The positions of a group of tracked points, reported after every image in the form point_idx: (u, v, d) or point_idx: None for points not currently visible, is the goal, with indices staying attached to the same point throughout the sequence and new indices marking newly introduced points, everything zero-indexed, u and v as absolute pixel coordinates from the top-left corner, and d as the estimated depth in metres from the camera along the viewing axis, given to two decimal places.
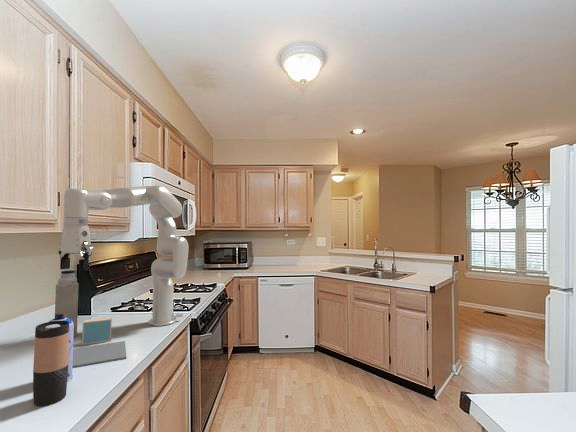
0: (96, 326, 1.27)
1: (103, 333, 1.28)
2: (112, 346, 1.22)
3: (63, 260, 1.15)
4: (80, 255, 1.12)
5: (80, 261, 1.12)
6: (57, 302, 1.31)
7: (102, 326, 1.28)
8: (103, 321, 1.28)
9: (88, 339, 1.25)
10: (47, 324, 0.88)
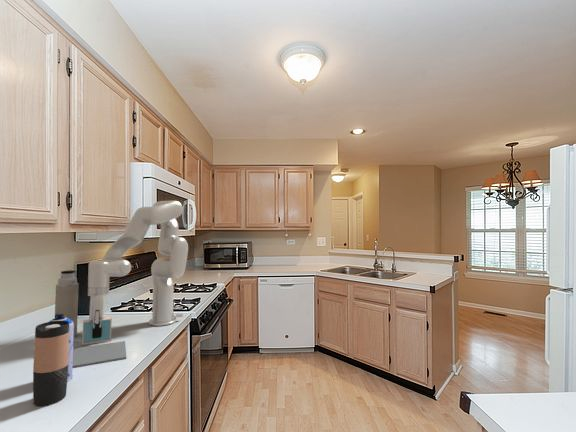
0: None
1: (103, 333, 1.28)
2: (112, 346, 1.22)
3: None
4: None
5: None
6: (57, 302, 1.31)
7: (102, 326, 1.28)
8: (103, 321, 1.28)
9: (88, 339, 1.25)
10: (47, 324, 0.88)
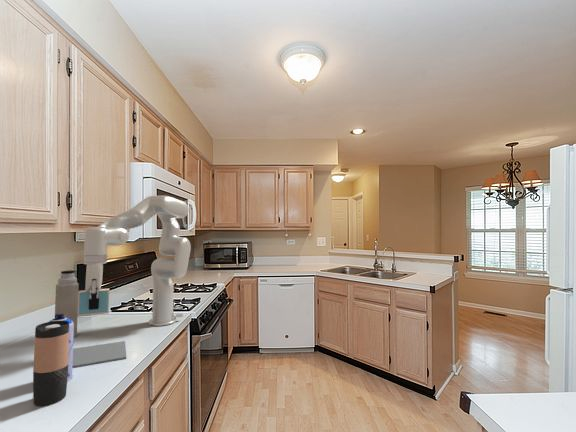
0: None
1: (101, 305, 1.19)
2: (112, 346, 1.22)
3: None
4: None
5: None
6: (57, 302, 1.31)
7: (99, 297, 1.19)
8: (100, 291, 1.19)
9: (84, 310, 1.17)
10: (47, 324, 0.88)
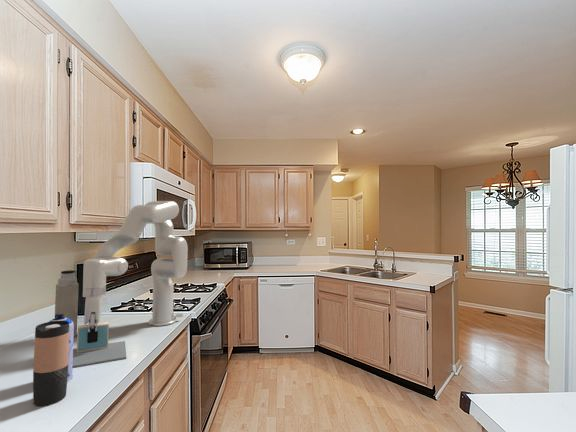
0: None
1: (100, 339, 1.19)
2: (112, 346, 1.22)
3: None
4: None
5: None
6: (57, 302, 1.31)
7: (98, 332, 1.19)
8: (100, 326, 1.19)
9: (84, 346, 1.16)
10: (47, 324, 0.88)
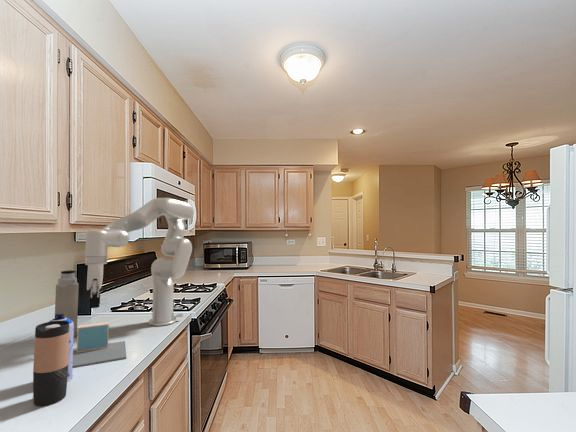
0: (92, 332, 1.18)
1: (100, 339, 1.19)
2: (112, 346, 1.22)
3: None
4: (99, 290, 1.29)
5: None
6: (57, 302, 1.31)
7: (98, 332, 1.19)
8: (100, 326, 1.19)
9: (84, 346, 1.16)
10: (47, 324, 0.88)
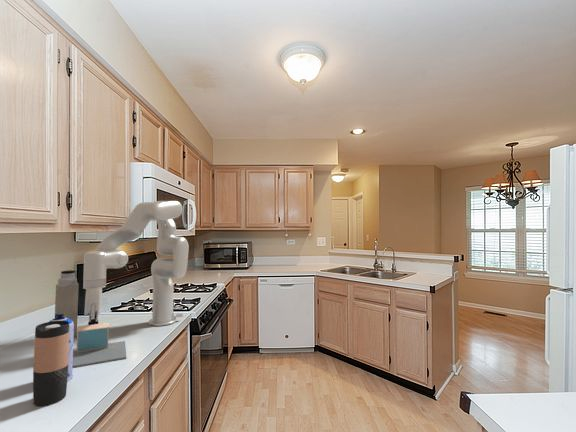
0: (92, 334, 1.16)
1: (100, 341, 1.18)
2: (112, 346, 1.22)
3: None
4: None
5: None
6: (57, 302, 1.31)
7: (98, 334, 1.17)
8: (99, 329, 1.17)
9: (84, 347, 1.16)
10: (47, 324, 0.88)
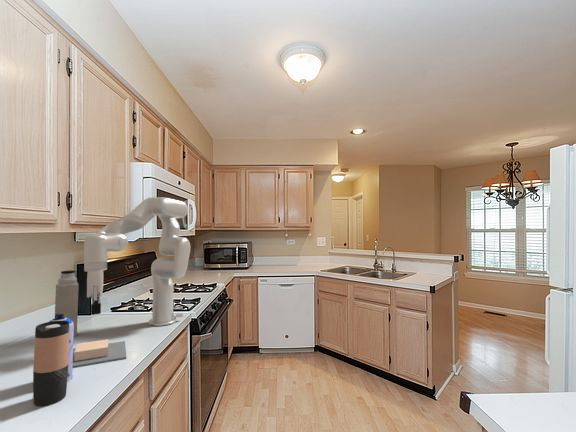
0: None
1: None
2: (112, 346, 1.22)
3: None
4: None
5: None
6: (57, 302, 1.31)
7: None
8: (98, 357, 1.11)
9: None
10: (47, 324, 0.88)
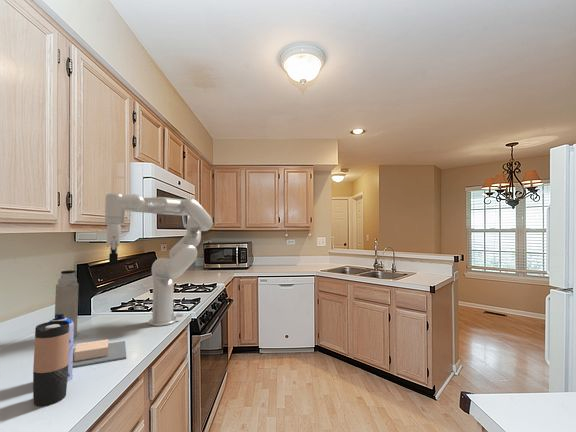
0: None
1: None
2: (112, 346, 1.22)
3: None
4: None
5: None
6: (57, 302, 1.31)
7: None
8: (98, 357, 1.11)
9: None
10: (47, 324, 0.88)
